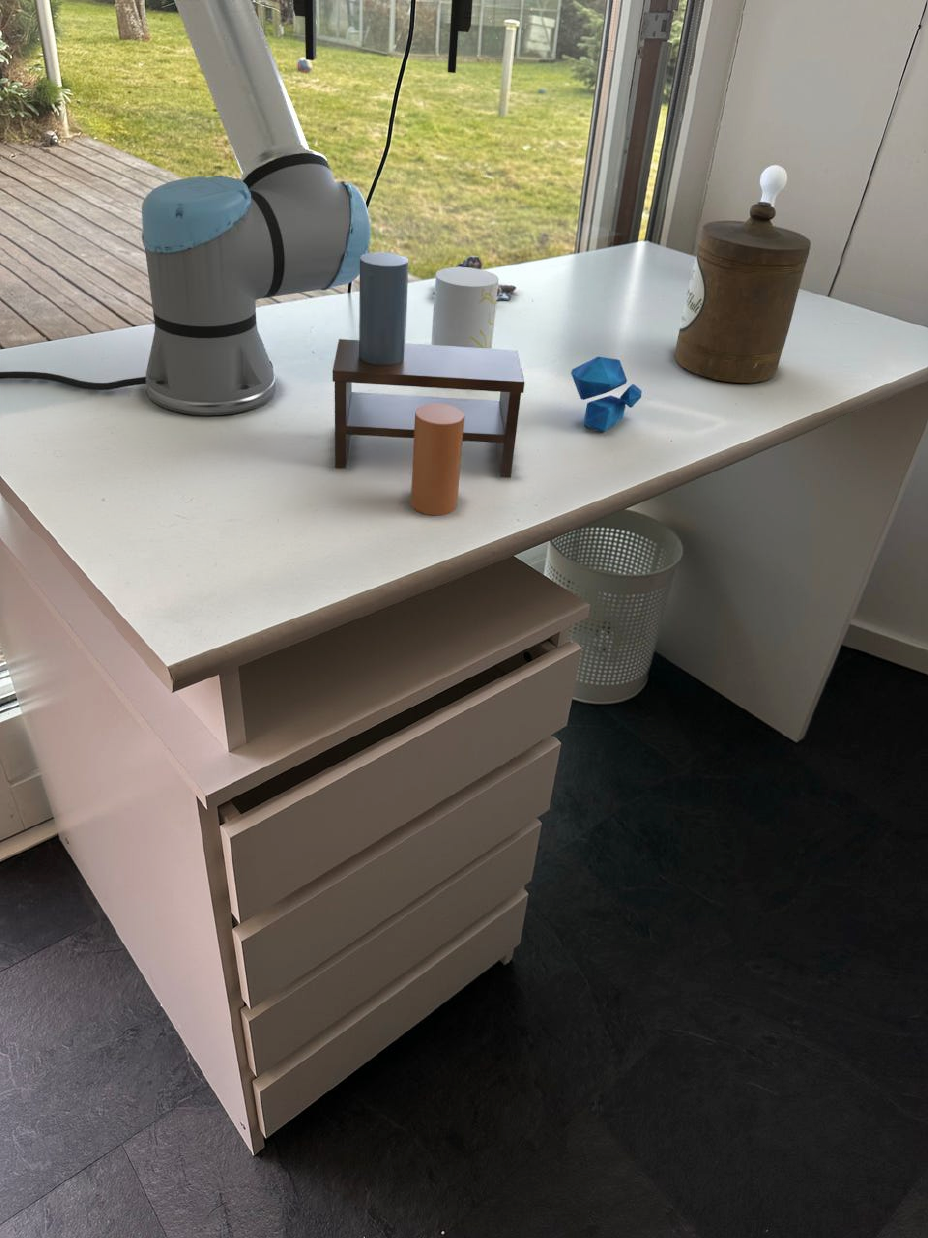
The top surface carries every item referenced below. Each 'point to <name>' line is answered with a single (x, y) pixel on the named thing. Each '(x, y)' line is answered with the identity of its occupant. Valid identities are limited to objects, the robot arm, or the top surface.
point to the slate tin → (382, 308)
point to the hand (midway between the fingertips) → (381, 64)
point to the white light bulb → (772, 183)
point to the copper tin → (436, 458)
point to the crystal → (603, 392)
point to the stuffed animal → (476, 263)
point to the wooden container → (741, 298)
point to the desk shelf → (427, 370)
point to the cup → (464, 307)
